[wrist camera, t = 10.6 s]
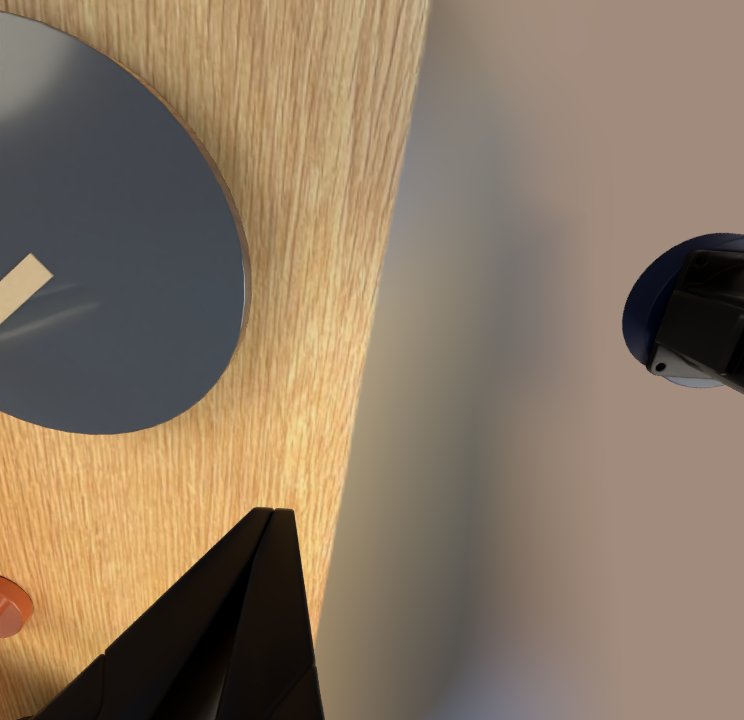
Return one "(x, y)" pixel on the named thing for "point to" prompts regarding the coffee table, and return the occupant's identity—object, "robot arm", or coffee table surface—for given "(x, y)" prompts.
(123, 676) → the robot arm
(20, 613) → the orange peg on base
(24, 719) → the decorative sphere
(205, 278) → the grey disc with peg
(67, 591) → the coffee table surface
